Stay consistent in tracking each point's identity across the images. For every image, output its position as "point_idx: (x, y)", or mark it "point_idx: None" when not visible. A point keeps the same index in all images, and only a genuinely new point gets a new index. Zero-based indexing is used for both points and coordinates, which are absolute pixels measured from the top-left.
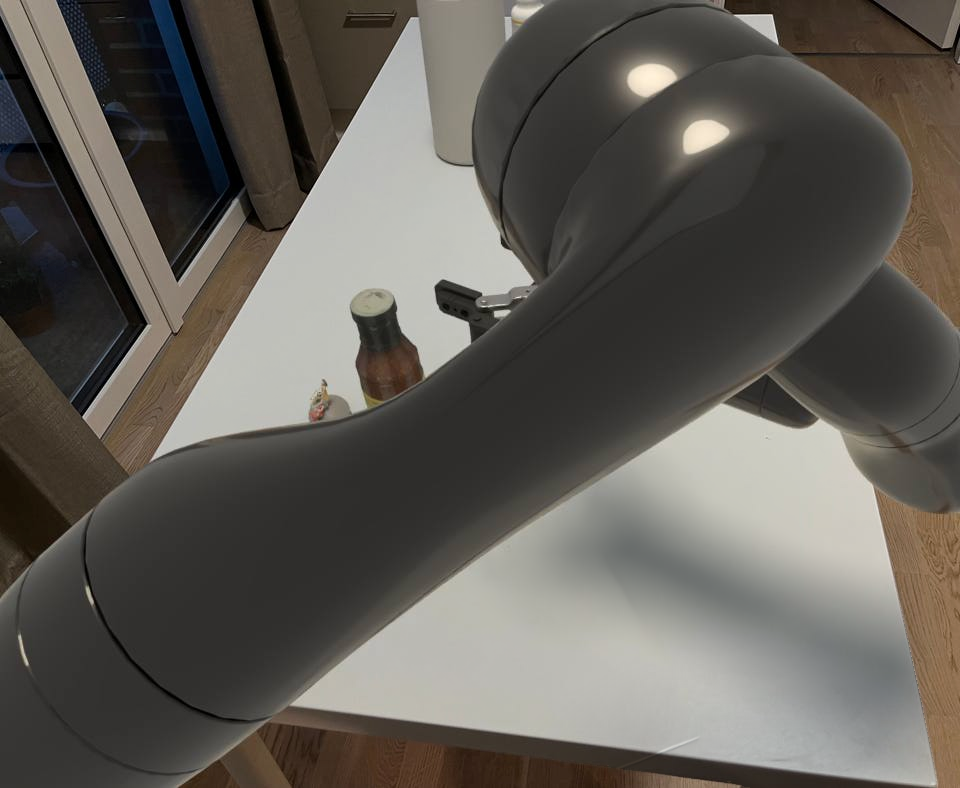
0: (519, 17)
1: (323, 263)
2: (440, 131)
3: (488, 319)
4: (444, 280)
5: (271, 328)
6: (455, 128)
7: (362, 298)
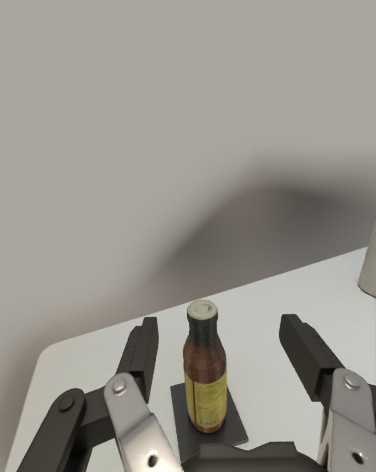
0: None
1: (265, 293)
2: (364, 274)
3: (65, 427)
4: (153, 319)
5: (223, 301)
6: (373, 276)
7: (200, 303)
